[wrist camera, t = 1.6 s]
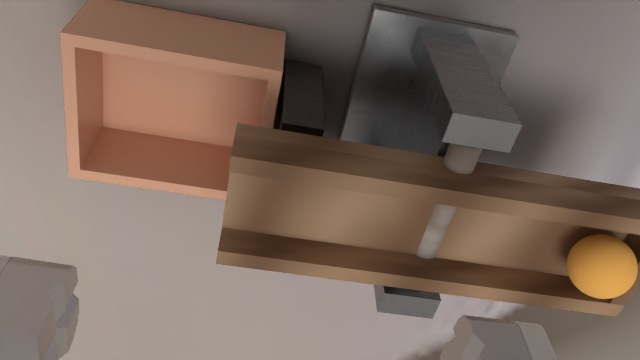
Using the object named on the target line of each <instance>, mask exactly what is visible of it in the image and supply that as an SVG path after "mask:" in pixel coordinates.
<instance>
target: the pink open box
mask: <svg viewBox="0 0 640 360" xmlns="http://www.w3.org/2000/svg"><path fill="white" fill-rule="evenodd" d="M285 37H286V32H285V31H280V30H275V29H269V28H264V27H259V26H253V25H248V24H242V23H237V22H232V21H226V20H221V19H216V18H210V17H205V16H199V15H194V14H189V13H183V12H178V11H172V10H167V9H162V8H156V7H151V6H146V5H140V4H135V3H129V2H124V1H119V0H89V1H88V2H87V3H86V4H85V5H84V6H83V7H82V9H81V10H80V11H79V12H78V13H77V14H76V15H75V16H74V17H73V19H72V20H71V21H70V22H69V23H68V24H67V25H66V26H65V28H64V29H63V30H62V31H61V32H60V38H61V55H62V72H63V89H64V106H65V123H66V139H67V156H68V173H69V177H72V178H79V179H86V180H93V181H99V182H106V183H113V184H120V185H127V186H134V187H140V188H147V189H154V190H161V191H168V192H175V193H181V194H188V195H195V196H202V197H209V198H216V199H223V200H226V196H227V189H228V182H229V174H230V172H229V166H230V158H231V153H232V147H233V142H234V137H235V132H236V126H237V123H241V124H247V125H253V126H259V127H265V128H271V129H273V123H274V118H275V112H276V107H277V101H278V96H279V90H280V84H281V79H282V73H283V63H284V50H285Z"/></svg>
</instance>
